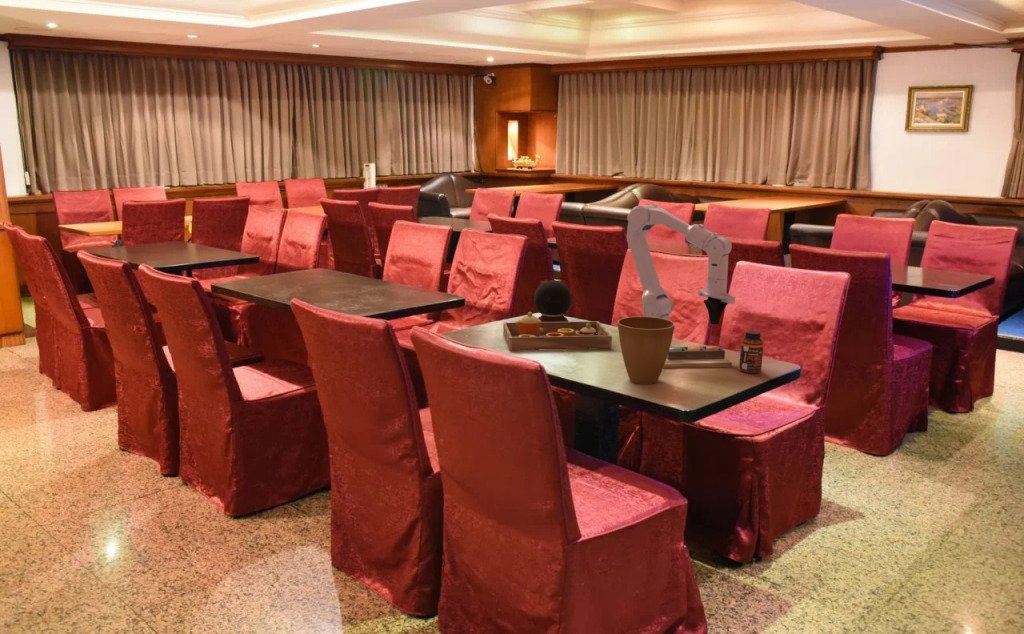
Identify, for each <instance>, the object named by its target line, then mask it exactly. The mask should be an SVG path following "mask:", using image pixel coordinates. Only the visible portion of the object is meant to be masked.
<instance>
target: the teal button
mask: <svg viewBox="0 0 1024 634" xmlns="http://www.w3.org/2000/svg"><path fill="white" fill-rule="evenodd" d="M681 347H682V346H670V349H669V351H682V348H681Z"/></svg>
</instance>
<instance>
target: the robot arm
mask: <svg viewBox="0 0 1024 634" xmlns="http://www.w3.org/2000/svg"><path fill="white" fill-rule="evenodd" d="M626 220H627V222H628V223H627V230H626V240H627V243H628V245H629V249H630V253H631V256H632V258H633V262H634V265H635V268H636V271H637V274H638V277H639V278H638V279H639V281H640V283H641V284H640V285H641V288H642V289H643V290H642V291H643V293H642V295H641V301H642V310H641V311H642V314H643V317H655V318H662V319H666V320H670V314H671V313H672V312H673V310H674V303H673V300H672V299H671V298H670V297H669V296H668V293H667V291H666V289H664V288H663V287H662V286H661V283H660V280H659V277H658V273H657V270H656V266H655V263H654V261H653V257H652V255H651V251H650V249H649V246H648V242H647V238H646V237H647V236H648V234H649V232H650V230H651V229H652V228H654V226H655V225H663V226H664V227H667V228H669V229H671V230H673V231H675V232H677V233H679V234H681V235H684V236H685V240H686V242H688V243H689V244H692V245H693V246H695V247H697V248H699V249H700V250H703V251H704V252H705V253H706V255H707V257H708V258H707V272H706V273H707V275H706V289H705V288H701V289H698V292H697V296H698V297H704V298H707V299H704V300H703V303H704V305H705V307H706V310H707V313H708V318H709V323H710V324H711V325H719V324H720V321H721V317H722V314H723V313H724V310H725V309H726V307H727V305H732V304H735V303H736V296H732V294H729V293H727V287H728V269H729V254H730V253H731V251H732V249H733V244H732V241H731V240H730V239H729V238H728V237H727V236H726V235H720V236H719V232H716V231H715V232H712V231H711V230H708V229H707V228H705V225H704V224H702V223H699V224H697V223H695V224H692V225H690V224H689V223H688V222H686V221H684V220H682V219H680V218H679V217H677V216H675V215H674V214H672V213H670V212H669V211H667V210H666V209H664V208H663V207H660V206H658V205H656V204H653V203H649V204H645V205H637V206H634V207H632V209H631V210H630V212H629V213H628V215H627V216H626Z"/></svg>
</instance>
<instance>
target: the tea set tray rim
mask: <svg viewBox="0 0 1024 634" xmlns="http://www.w3.org/2000/svg"><path fill="white" fill-rule="evenodd" d="M516 322H517V321H516ZM516 322H514V321H513V322H511V321H510V322H503V324H502V325H503V327H502V329H503V331H502V334H503V338H504V340H505V343H506V345H507V348H508V350H509V351H510V352H511V351H540V350H539V349H568V350H593V349H592V348H598V349H597V350H600V349H599V348H610V349H609V350H611V348H613V347H612V345H613V344H612V343H613V336H612V334H611V333H610V332H609V331H608V330H607V329H606V328H605V327H604V326H603V325H602V324H601V323H600V322H599V320H597V321H596V320H594V321H593V320H592V321H589V320H588V321H568V322H542V324H541V328H543V331H542V332H540V335H546V334H548V333H558V330H559V329H562V328H564V329H573V330H574V332H575V331H580V330H581V329H582V328H584V327H586V324H587V323H590V324H591V327H592V328H594V329H595V330H596V332H595V333H597V334H598V335H597V334H596V335H594V336H576V335H574V336H548V337H546V336H539V337H518V336H519V335H520V332H519V326H517V325H516ZM515 335H516V336H515ZM590 348H591V349H590Z"/></svg>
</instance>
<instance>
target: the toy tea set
mask: <svg viewBox="0 0 1024 634" xmlns="http://www.w3.org/2000/svg"><path fill="white" fill-rule="evenodd" d="M541 324H542V322H541V320H539V319H538V317H537V316H535V315H533V312H531V311H529V312H527V315H525V316H523V317H521V319H519V320H517V321H516V325H517V326H519V332H520V335H517V337H541V336H540V335H541V334H540V332H542V331H543V328H541ZM595 332H596V330H595V329H594V328H592V327H591V324H590V323H587V324H586V327H584V328H582V329H581V330H580V331H575V332H574V330H573V329H564V328H562V329H559V330H558V333H548V334H545V337H548V336H595V334H594V333H595Z"/></svg>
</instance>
